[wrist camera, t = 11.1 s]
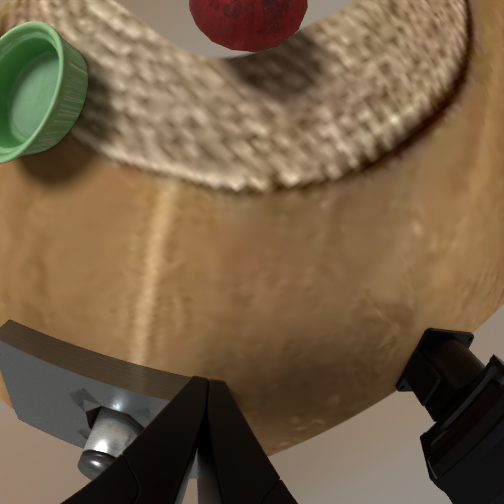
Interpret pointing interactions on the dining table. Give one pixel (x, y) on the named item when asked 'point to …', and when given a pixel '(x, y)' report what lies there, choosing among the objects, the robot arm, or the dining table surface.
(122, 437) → the metal cylinder peg
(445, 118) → the dining table surface
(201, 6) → the onion
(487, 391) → the robot arm
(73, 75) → the ramekin
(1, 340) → the jig
